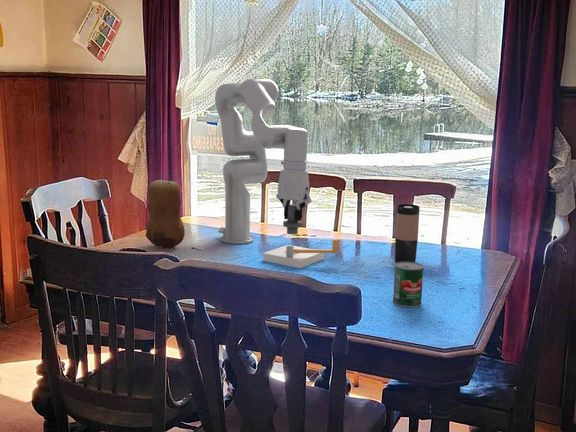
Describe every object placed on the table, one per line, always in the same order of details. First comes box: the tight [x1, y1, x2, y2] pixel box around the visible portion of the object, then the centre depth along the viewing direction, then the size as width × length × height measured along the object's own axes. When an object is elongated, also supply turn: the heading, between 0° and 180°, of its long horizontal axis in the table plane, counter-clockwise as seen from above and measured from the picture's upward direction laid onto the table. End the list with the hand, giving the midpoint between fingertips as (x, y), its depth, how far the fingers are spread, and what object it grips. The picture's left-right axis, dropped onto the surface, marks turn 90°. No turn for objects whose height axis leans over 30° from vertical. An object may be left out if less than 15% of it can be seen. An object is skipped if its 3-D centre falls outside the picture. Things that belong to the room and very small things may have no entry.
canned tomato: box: [392, 262, 425, 308], centre depth 176 cm, size 8×8×11 cm
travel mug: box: [394, 203, 420, 264], centre depth 218 cm, size 8×8×20 cm
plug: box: [282, 203, 303, 235], centre depth 212 cm, size 6×6×10 cm
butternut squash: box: [145, 179, 186, 249], centre depth 230 cm, size 14×13×25 cm
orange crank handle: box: [285, 238, 339, 257], centre depth 208 cm, size 2×17×6 cm, turn 94°
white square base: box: [262, 244, 325, 269], centre depth 214 cm, size 15×15×4 cm
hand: (292, 219), depth 212 cm, fingers closed on plug, 3 cm apart
